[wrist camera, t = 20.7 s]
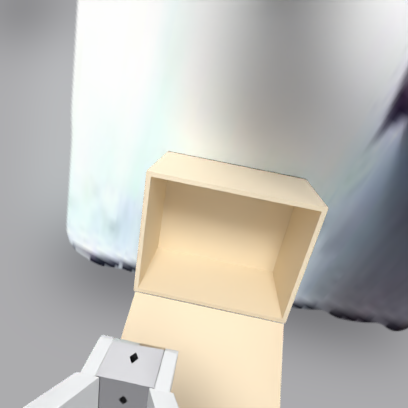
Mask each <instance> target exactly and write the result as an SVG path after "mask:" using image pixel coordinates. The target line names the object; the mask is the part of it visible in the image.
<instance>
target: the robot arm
mask: <svg viewBox="0 0 408 408" xmlns="http://www.w3.org/2000/svg"><path fill="white" fill-rule="evenodd" d="M178 352H179V351H176V350H171V349H167V348H166V349H165V348H163V347H158V346H153V345H148V344H143V343H136V342H132V341H128V340H124V339H119V338H115V337H111V336H106V335H102V336H101V337H100V338H99V339H98V341H97V343H96V345H95V346H94V348H93V350H92V352H91V354H90V355H89V357H88V359H87V361H86V363H85V365H84V366H83V368H82V370H81V372H80V373H79V372H75V373H74V374H72V375H71V376H69V377H68V378H66V379H65V380H63V381H62V382H60V383H59V384H57V385H56V386H54V387H53V388H51V389H50V390H49V391H47V392H45V393H44V394H42V395H41V396H40V397H38V398H36V399H35V400H33V401H32V402H30V403H29V404H27V405H26V406H24V407H23V408H179V407H178V404H177V401H176V398H175V396H174V393H171V390H172V385H173V379H174V374H175V369H176V363H177V358H178Z"/></svg>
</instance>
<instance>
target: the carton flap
mask: <svg viewBox="0 0 408 408" xmlns="http://www.w3.org/2000/svg"><path fill="white" fill-rule="evenodd" d="M283 328H284V324H281V323H276V322H272V321H267V320H263V319H259V318H254V317H249V316H245V315H240V314H236V313H231V312H226V311H222V310H217V309H213V308H208V307H203V306H198V305H194V304H190V303H185V302H180V301H176V300H171V299H167V298H162V297H158V296H153V295H148V294H144V293H139V292H135V295H134V298H133V302H132V305H131V308H130V311H129V315H128V318H127V321H126V324H125V327H124V331H123V334H122V337H121V339H124V340H128V341H132V342H136V343H143V344H148V345H153V346H158V347H163V348H165V349H166V348H167V349H171V350H176V351H179V352H178V358H177V363H176V369H175V374H174V379H173V385H172V390H171V393H174V396H175V398H176V401H177V404H178V407H179V408H280V396H281V395H280V394H281V373H282V349H283Z"/></svg>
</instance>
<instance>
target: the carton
mask: <svg viewBox="0 0 408 408" xmlns="http://www.w3.org/2000/svg"><path fill="white" fill-rule="evenodd" d="M327 211H328V207H327V206H326V204H325V203H324V202H323V200H322V199H321V198H320V197H319V195H318V194H317V193H316V191H315V190H314V189H313V188H312V186H311V185H310V184H309V182H308V181H307V180H306V179H303V178H298V177H293V176H288V175H283V174H278V173H273V172H269V171H264V170H259V169H254V168H249V167H244V166H239V165H234V164H229V163H224V162H219V161H214V160H209V159H205V158H200V157H195V156H190V155H185V154H180V153H175V152H170V151H168V152H167V153H166V154H165V155H163V156H162V157H161V158H160V159H159V160H158V161H157V162H156V163H155V164H154V165H152V166H151V167H150V168H149V169H148V170H147V172H146V181H145V190H144V199H143V209H142V218H141V227H140V236H139V245H138V255H137V264H136V273H135V282H134V290H135V291H138V292H144V293H148V294H152V295H157V296H162V297H166V298H170V299H175V300H180V301H184V302H189V303H193V304H198V305H203V306H207V307H212V308H216V309H221V310H226V311H230V312H235V313H240V314H244V315H249V316H253V317H258V318H263V319H267V320H271V321H276V322H281V323H286V320H287V318H288V315H289V312H290V309H291V307H292V304H293V302H294V299H295V296H296V294H297V291H298V288H299V286H300V283H301V280H302V278H303V275H304V272H305V270H306V267H307V264H308V262H309V259H310V256H311V254H312V251H313V248H314V246H315V243H316V240H317V238H318V235H319V232H320V230H321V227H322V224H323V222H324V219H325V216H326V214H327Z"/></svg>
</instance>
